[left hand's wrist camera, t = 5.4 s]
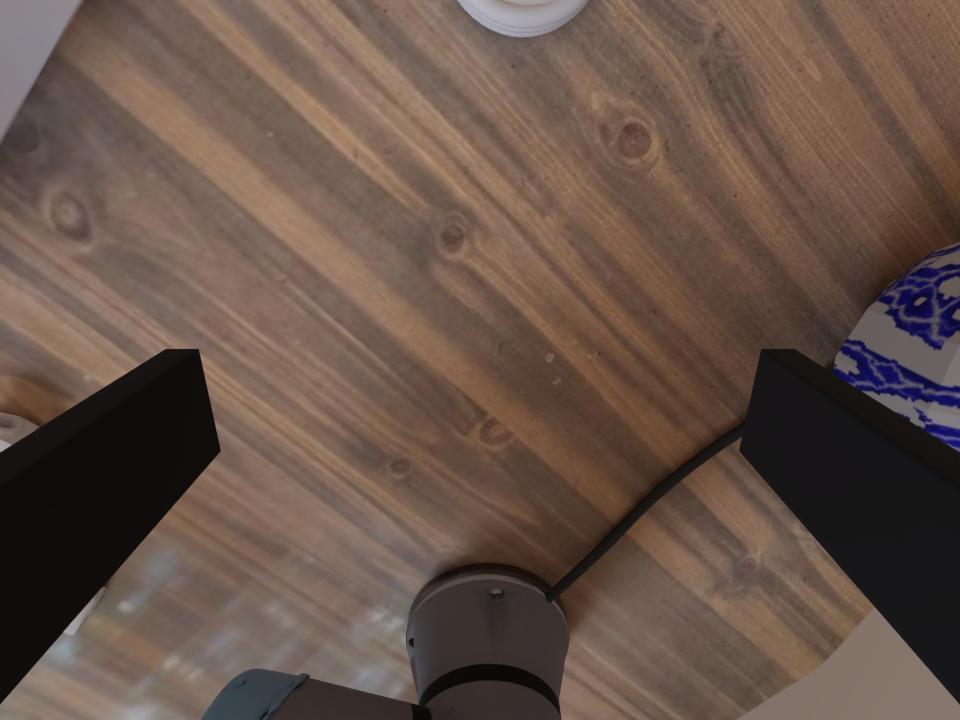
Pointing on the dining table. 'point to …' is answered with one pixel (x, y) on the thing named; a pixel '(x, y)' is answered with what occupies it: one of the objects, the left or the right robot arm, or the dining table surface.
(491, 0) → the white thick disc
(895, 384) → the ornament
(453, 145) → the dining table surface
